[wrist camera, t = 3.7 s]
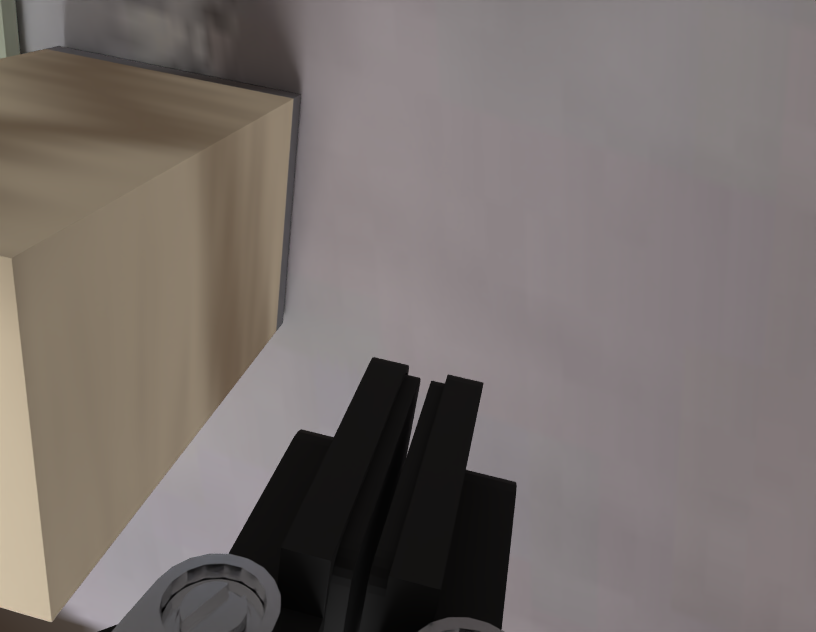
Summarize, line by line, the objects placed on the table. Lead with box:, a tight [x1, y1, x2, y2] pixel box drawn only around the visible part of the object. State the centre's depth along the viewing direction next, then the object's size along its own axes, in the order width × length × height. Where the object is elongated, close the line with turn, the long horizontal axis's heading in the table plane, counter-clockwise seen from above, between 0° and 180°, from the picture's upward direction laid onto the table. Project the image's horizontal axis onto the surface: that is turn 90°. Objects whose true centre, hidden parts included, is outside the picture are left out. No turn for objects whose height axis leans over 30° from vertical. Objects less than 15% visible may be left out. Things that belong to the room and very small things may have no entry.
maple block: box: [0, 46, 301, 622], centre depth 15 cm, size 6×6×10 cm
